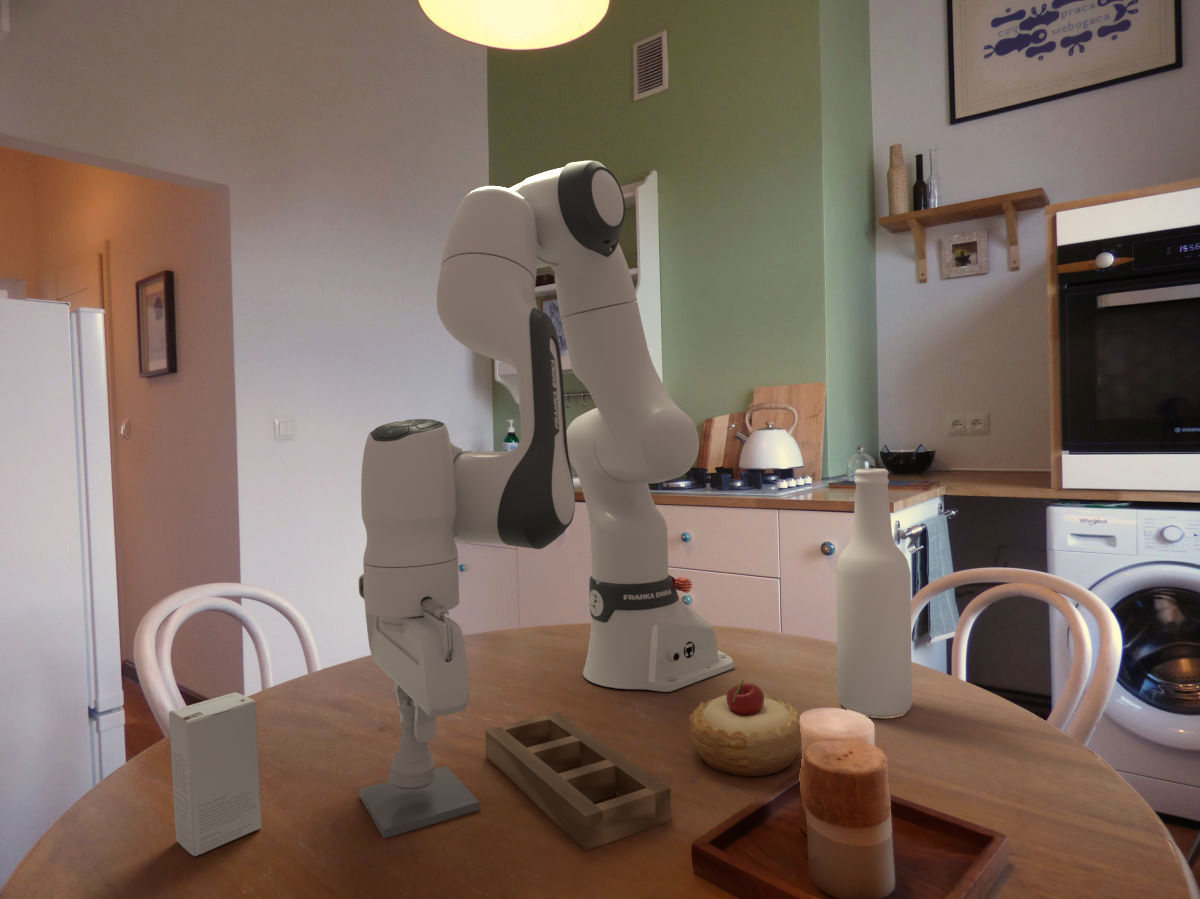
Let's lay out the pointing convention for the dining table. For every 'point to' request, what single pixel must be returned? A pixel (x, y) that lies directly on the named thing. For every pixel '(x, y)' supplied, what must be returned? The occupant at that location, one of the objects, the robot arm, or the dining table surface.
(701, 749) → the pastry
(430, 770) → the rook chess piece
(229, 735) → the skincare box
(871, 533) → the alcohol
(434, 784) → the coaster
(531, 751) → the three-compartment wooden tray
